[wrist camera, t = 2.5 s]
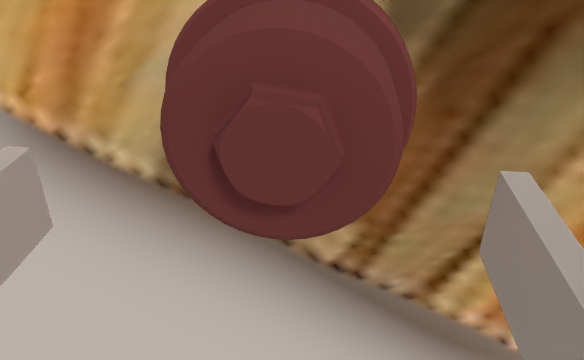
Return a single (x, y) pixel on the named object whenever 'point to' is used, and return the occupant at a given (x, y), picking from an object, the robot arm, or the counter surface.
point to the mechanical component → (287, 112)
